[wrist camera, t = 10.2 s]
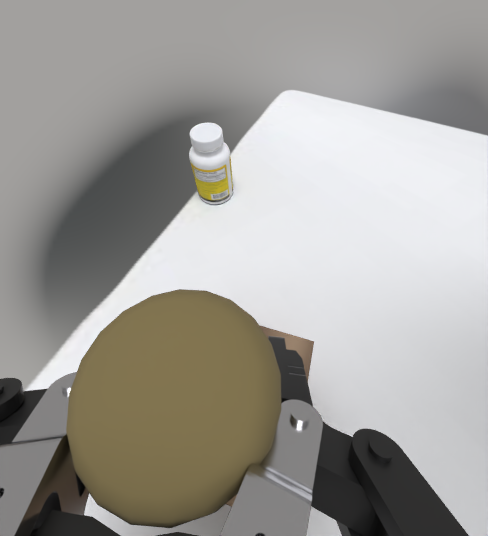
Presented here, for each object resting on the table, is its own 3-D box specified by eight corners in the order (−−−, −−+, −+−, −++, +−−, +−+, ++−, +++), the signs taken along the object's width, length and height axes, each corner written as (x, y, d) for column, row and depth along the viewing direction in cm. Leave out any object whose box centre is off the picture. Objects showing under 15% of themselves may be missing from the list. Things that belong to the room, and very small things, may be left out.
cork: (156, 367, 15) (7, 308, 6) (243, 329, 16) (241, 226, 7) (184, 481, 13) (-13, 734, 3) (286, 426, 14) (380, 479, 4)
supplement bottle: (210, 176, 39) (199, 114, 31) (239, 187, 38) (236, 125, 30) (191, 198, 37) (175, 137, 29) (222, 210, 36) (214, 150, 27)
